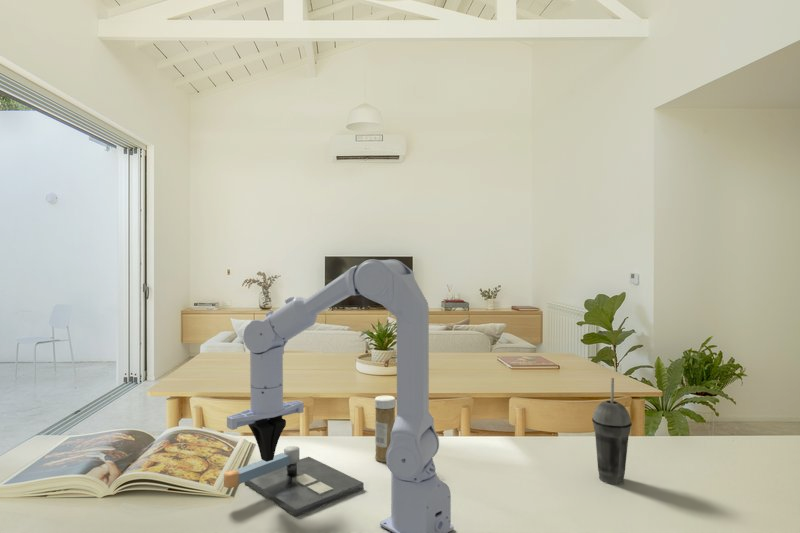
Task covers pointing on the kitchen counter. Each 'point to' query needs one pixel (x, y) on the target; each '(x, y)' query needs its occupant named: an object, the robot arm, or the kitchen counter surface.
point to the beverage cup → (611, 439)
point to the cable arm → (261, 467)
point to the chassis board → (305, 485)
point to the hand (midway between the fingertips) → (267, 459)
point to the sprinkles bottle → (384, 424)
